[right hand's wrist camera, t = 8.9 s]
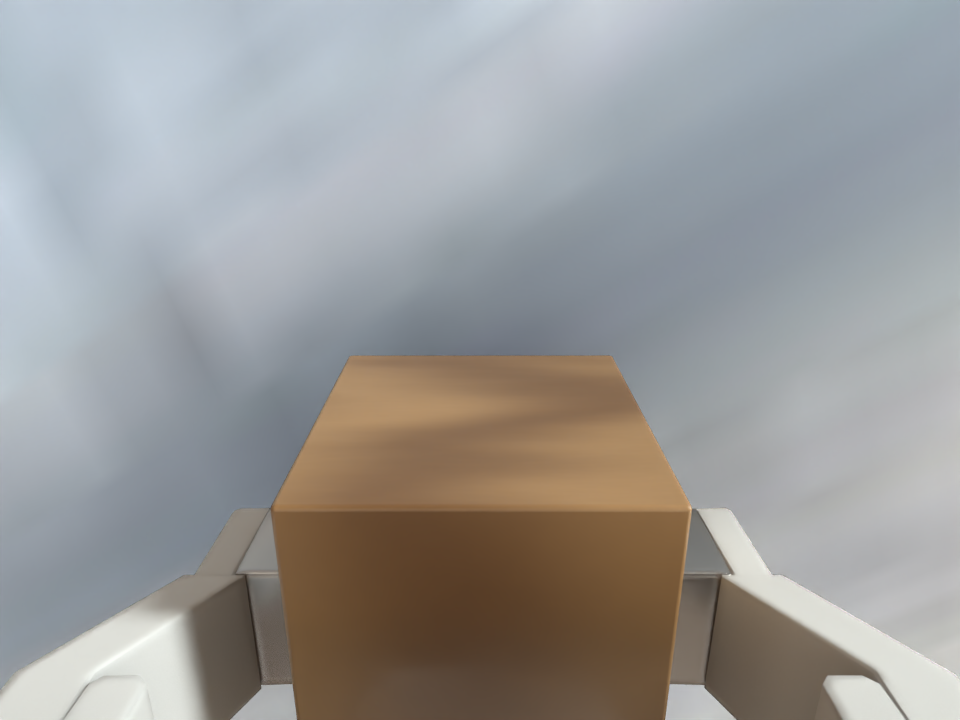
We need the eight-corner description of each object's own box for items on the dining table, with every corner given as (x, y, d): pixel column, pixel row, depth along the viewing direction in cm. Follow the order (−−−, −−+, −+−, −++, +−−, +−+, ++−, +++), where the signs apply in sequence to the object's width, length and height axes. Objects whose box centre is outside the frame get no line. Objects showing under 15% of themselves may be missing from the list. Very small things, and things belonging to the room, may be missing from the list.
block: (612, 354, 11) (695, 507, 7) (595, 591, 13) (652, 831, 9) (348, 353, 11) (267, 507, 7) (365, 591, 13) (309, 831, 9)
